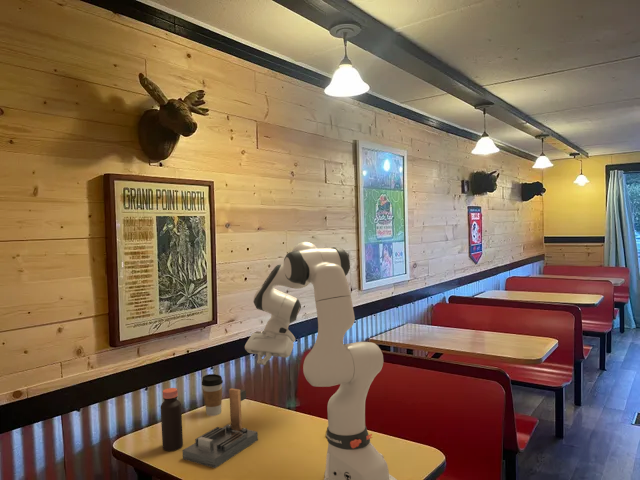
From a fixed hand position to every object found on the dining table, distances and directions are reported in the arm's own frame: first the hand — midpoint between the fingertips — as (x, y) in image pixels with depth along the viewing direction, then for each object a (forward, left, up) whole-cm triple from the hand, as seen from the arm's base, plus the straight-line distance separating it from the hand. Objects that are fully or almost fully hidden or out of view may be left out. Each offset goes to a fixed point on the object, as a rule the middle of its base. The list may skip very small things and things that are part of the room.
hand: (260, 363), depth 185 cm
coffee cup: (+24, +9, -23) cm, 34 cm away
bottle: (+6, +34, -23) cm, 41 cm away
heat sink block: (-8, +22, -23) cm, 33 cm away
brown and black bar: (-5, +13, -20) cm, 24 cm away
